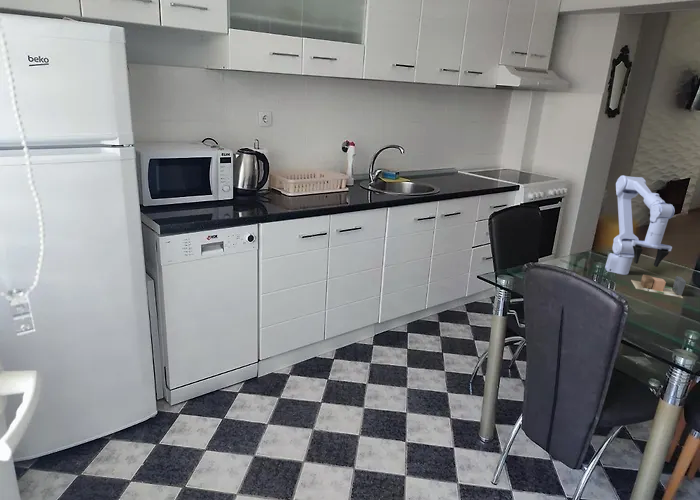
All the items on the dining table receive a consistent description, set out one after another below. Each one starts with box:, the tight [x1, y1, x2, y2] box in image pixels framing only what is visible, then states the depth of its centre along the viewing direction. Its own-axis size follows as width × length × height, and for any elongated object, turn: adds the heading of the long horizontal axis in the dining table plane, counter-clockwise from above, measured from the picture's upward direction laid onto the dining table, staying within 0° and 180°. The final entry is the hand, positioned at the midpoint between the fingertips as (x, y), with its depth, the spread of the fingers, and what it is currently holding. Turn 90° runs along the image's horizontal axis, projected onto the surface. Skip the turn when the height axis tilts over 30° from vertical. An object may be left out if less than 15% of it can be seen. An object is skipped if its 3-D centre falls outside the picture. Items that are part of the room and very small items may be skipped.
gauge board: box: [630, 279, 684, 299], centre depth 202 cm, size 17×11×1 cm, turn 71°
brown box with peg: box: [640, 273, 654, 289], centre depth 201 cm, size 3×6×4 cm, turn 161°
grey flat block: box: [671, 275, 687, 297], centre depth 199 cm, size 2×6×7 cm, turn 161°
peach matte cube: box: [651, 276, 667, 291], centre depth 201 cm, size 4×4×4 cm
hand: (645, 264), depth 202 cm, fingers open, 7 cm apart
